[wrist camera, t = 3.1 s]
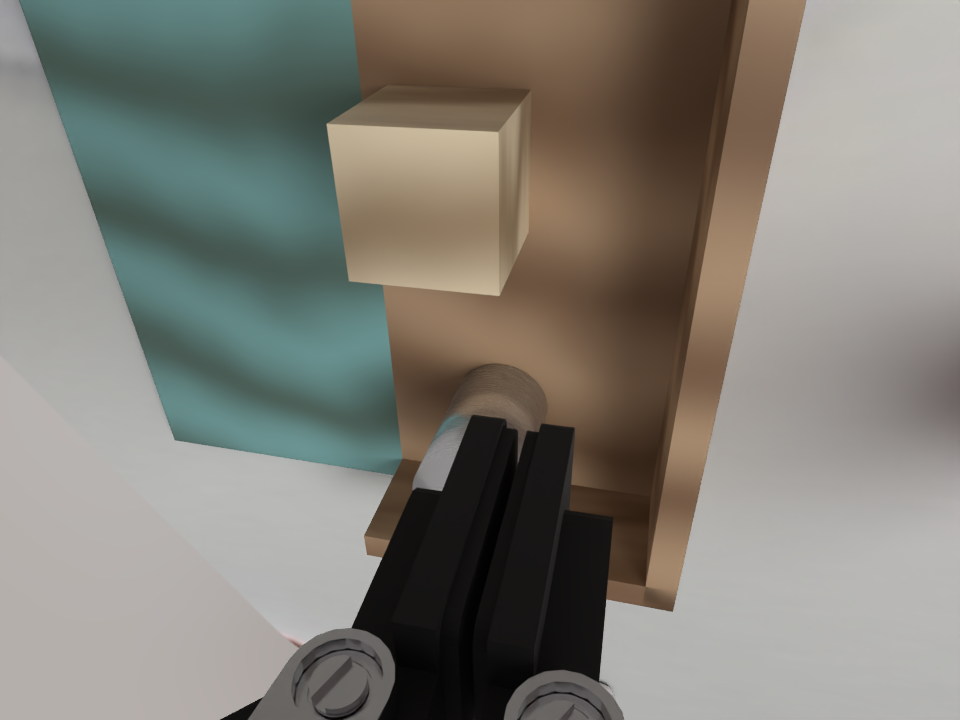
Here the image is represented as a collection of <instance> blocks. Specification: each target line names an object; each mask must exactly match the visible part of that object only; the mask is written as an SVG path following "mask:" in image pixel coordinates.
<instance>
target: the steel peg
mask: <svg viewBox="0 0 960 720" xmlns="http://www.w3.org/2000/svg"><path fill="white" fill-rule="evenodd" d="M547 409H548V406H547V400H546V396H545V394H544V392H543V390H542V388H541V387H540V385H539V384H538V383H537V382H536V381H535V380H534V379H533V378H532V377H531V376H530V375H528V374H527V373H525V372H523V371H521V370H519V369H517V368H515V367H512V366H508V365H503V364H487V365H483V366H479V367H477V368H475V369H473V370H471V371H470V372H469V373H468V374H467V375H466V376H465V377H464V378H463V380H462V381H461V383H460V385H459V387H458V389H457V391H456V393H455V396H454V398H453V400H452V402H451V404H450V406H449V408H448V410H447V412H446V414H445V416H444V418H443V420H442V422H441V424H440V426H439V428H438V430H437V432H436V434H435V436H434V438H433V440H432V442H431V444H430V446H429V448H428V450H427V452H426V454H425V456H424V458H423V460H422V462H421V464H420V467H419V469H418V471H417V473H416V475H415V477H414V480H413V486H412V487H413V490H414V489H415V488H416V487H418V488H424V489H431V490H438V491H442V490H443V487H444V484H445V482H446V479H447V477H448V474H449V472H450V469H451V466H452V464H453V461H454V459H455V456H456V454H457V451H458V449H459V446H460V443H461V441H462V438H463V436H464V433H465V431H466V428H467V425H468V423H469V420H470V418H471V416H472V415H480V416H487V417H495V418H503V419H506V421H507V428H512V429H517V430H518V461H519V458H520V454H521V450H522V447H523V443H524V439H525V436H526V432H527V431H535V432H539V429H540V426H541V424H542V423H543V424H544V422H545V419H546V415H547Z"/></svg>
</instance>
